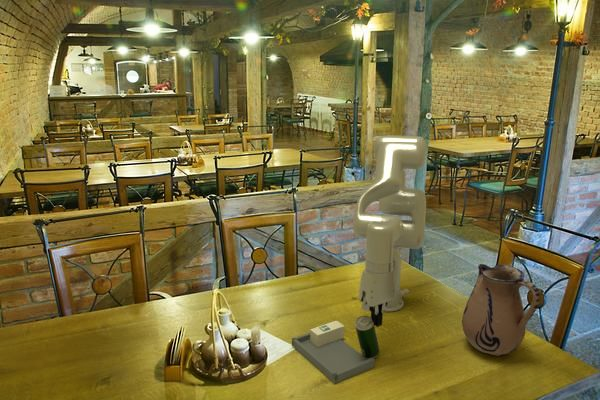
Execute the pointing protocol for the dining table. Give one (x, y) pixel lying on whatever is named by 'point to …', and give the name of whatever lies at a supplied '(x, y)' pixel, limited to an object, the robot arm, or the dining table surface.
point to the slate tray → (333, 358)
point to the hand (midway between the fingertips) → (376, 324)
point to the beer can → (367, 337)
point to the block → (326, 333)
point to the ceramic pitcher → (498, 310)
